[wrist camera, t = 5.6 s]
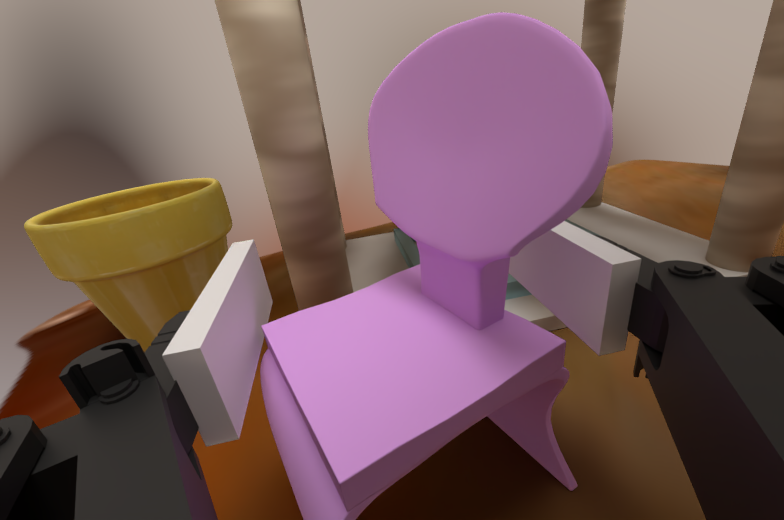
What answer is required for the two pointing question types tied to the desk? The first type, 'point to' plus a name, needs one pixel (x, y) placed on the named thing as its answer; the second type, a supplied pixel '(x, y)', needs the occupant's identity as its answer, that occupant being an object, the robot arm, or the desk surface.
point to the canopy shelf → (400, 252)
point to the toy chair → (444, 267)
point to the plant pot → (138, 250)
